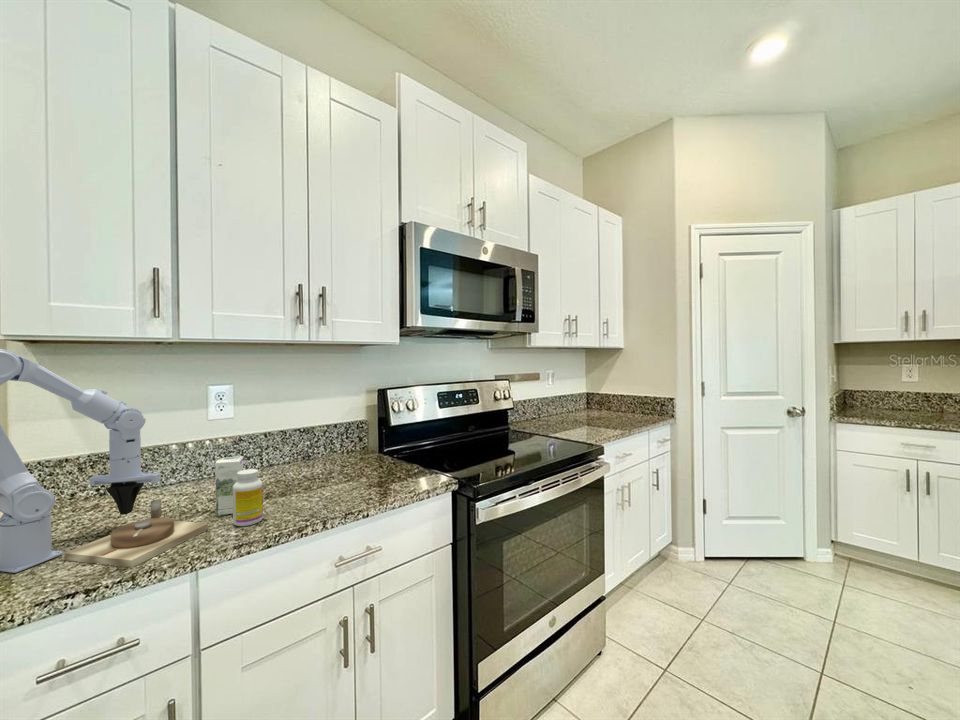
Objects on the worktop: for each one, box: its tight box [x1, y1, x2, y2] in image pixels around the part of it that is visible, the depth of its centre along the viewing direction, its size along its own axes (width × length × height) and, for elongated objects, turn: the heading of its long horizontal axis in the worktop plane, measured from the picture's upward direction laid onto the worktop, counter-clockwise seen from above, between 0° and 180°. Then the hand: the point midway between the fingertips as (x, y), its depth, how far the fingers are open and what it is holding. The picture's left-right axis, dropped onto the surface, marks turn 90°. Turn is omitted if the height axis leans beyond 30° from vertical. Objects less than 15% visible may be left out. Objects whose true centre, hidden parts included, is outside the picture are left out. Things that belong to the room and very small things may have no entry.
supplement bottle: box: [232, 468, 264, 527], centre depth 103 cm, size 7×7×13 cm
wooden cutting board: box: [63, 520, 209, 569], centre depth 91 cm, size 17×18×2 cm
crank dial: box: [110, 499, 175, 548], centre depth 93 cm, size 15×11×5 cm
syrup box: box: [214, 455, 244, 517], centre depth 110 cm, size 6×6×14 cm
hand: (126, 513), depth 98 cm, fingers closed
